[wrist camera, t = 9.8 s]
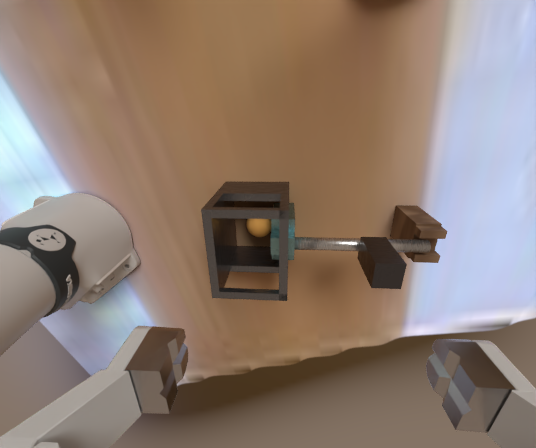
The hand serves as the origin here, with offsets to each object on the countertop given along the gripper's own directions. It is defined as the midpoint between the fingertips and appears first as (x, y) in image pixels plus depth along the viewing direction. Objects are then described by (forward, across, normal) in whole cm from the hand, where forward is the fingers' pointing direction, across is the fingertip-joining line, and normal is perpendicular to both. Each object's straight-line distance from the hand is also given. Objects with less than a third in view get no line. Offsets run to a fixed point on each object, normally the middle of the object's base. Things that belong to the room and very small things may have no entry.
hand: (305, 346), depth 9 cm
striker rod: (+31, -8, +8) cm, 33 cm away
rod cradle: (+31, -18, +8) cm, 37 cm away
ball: (+30, +4, +8) cm, 31 cm away
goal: (+32, +4, +8) cm, 33 cm away
